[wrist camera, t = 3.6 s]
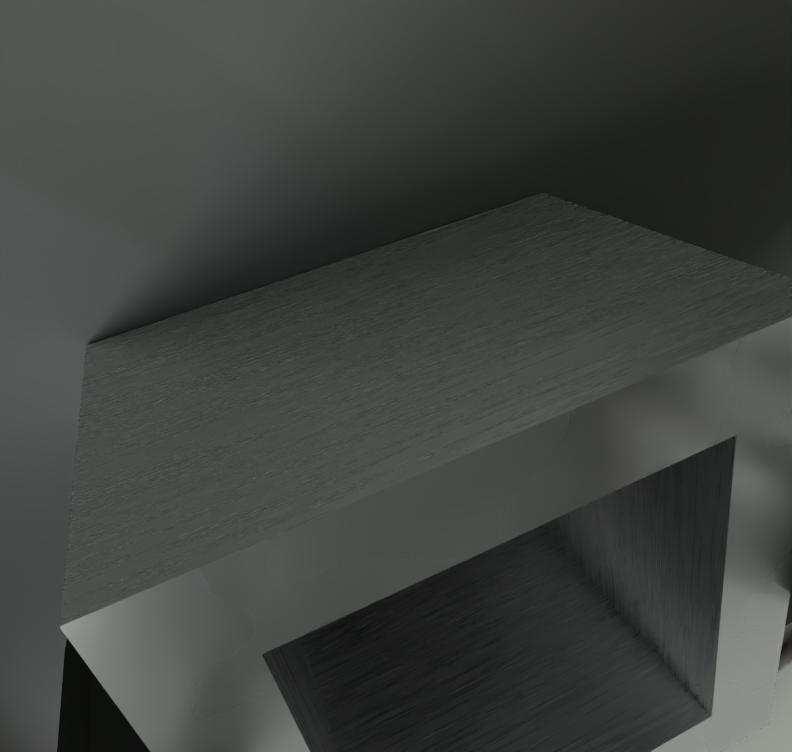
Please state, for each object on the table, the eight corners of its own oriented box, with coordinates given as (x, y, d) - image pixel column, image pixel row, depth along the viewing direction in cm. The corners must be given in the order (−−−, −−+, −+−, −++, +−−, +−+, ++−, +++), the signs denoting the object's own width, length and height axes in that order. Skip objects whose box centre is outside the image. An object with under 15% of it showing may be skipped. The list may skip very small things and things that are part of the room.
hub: (541, 192, 10) (839, 296, 6) (570, 517, 14) (768, 723, 10) (85, 345, 9) (58, 625, 4) (252, 666, 12) (322, 987, 8)
